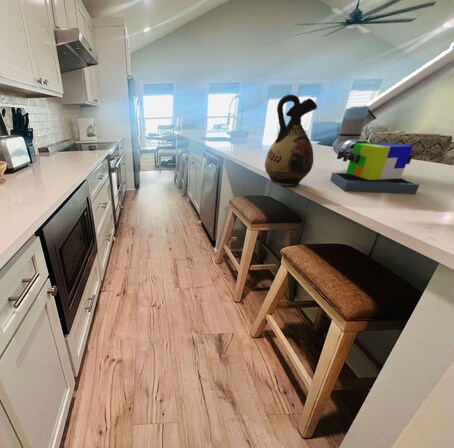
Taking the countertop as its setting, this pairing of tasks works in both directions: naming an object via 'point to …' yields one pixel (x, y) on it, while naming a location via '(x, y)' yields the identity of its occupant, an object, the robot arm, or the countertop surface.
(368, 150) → the puzzle toy
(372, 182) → the storage tray
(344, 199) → the countertop surface
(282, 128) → the ceramic jug
